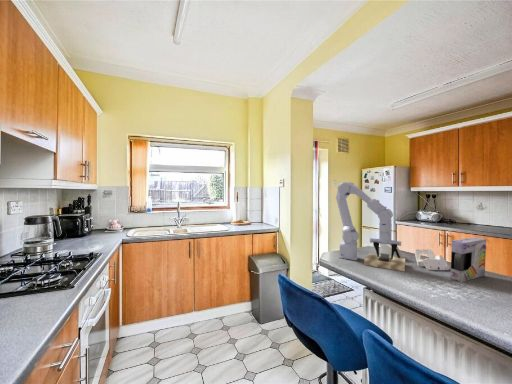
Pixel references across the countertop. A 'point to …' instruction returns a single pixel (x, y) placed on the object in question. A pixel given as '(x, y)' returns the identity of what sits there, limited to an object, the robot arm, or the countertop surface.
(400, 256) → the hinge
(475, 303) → the countertop surface
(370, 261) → the well block
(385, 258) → the t bracket
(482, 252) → the cake pan box
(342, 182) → the robot arm
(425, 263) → the mounting bracket
